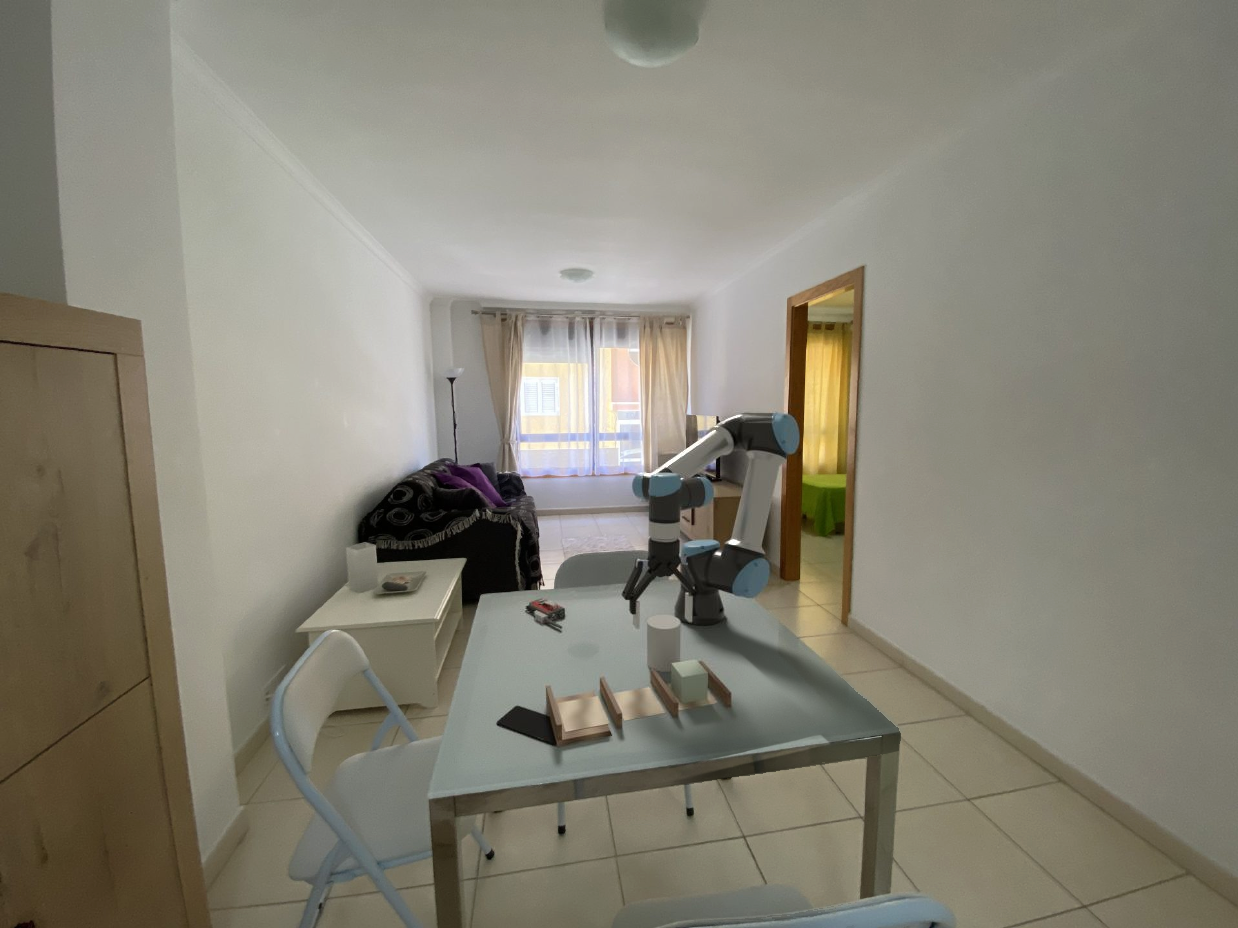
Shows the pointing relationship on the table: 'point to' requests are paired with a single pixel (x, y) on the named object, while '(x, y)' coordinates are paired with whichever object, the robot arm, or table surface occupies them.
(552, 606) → the walkie-talkie
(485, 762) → the table surface
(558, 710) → the frame
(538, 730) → the smartphone
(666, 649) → the white cylinder
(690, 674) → the sage block
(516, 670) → the table surface
